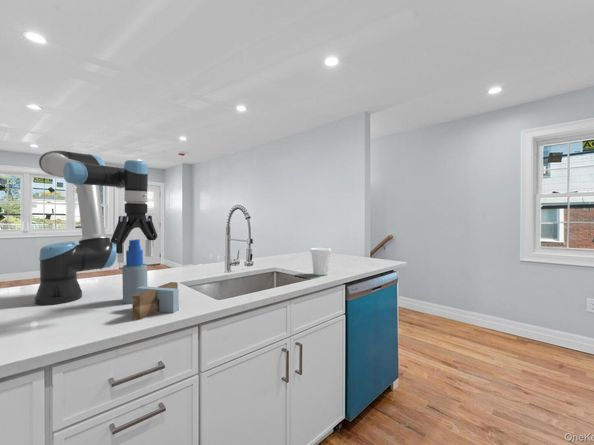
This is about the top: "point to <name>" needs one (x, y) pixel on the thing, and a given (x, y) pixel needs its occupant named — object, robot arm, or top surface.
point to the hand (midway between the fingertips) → (136, 259)
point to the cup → (320, 260)
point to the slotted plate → (164, 298)
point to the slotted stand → (148, 301)
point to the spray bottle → (133, 271)
